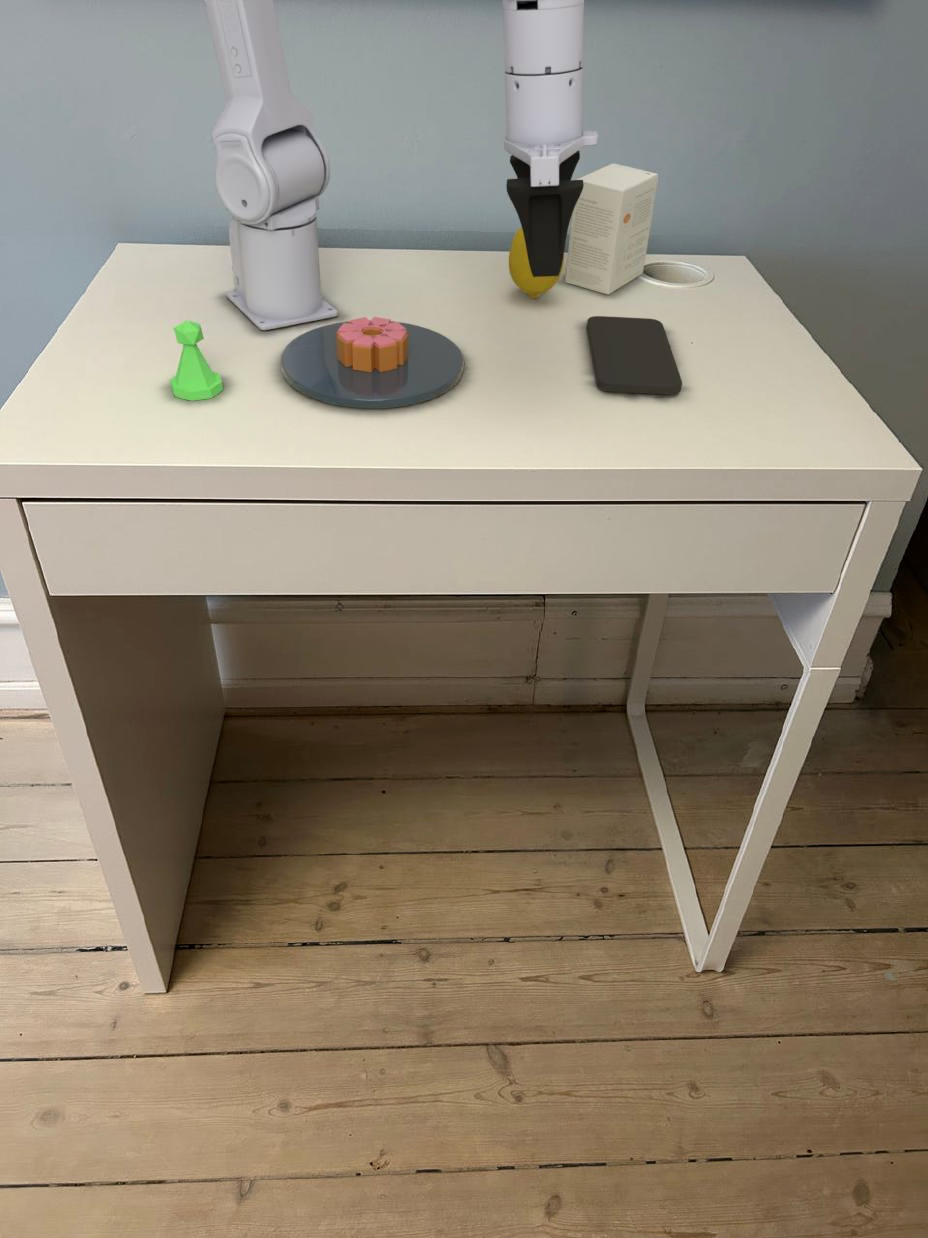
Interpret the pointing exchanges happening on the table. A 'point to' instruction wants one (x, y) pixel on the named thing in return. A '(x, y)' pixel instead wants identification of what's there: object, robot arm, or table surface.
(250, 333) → the table surface
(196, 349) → the game piece
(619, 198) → the small box
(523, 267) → the lemon
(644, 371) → the phone
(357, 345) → the donut
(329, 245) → the table surface
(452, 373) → the plate
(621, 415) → the table surface
